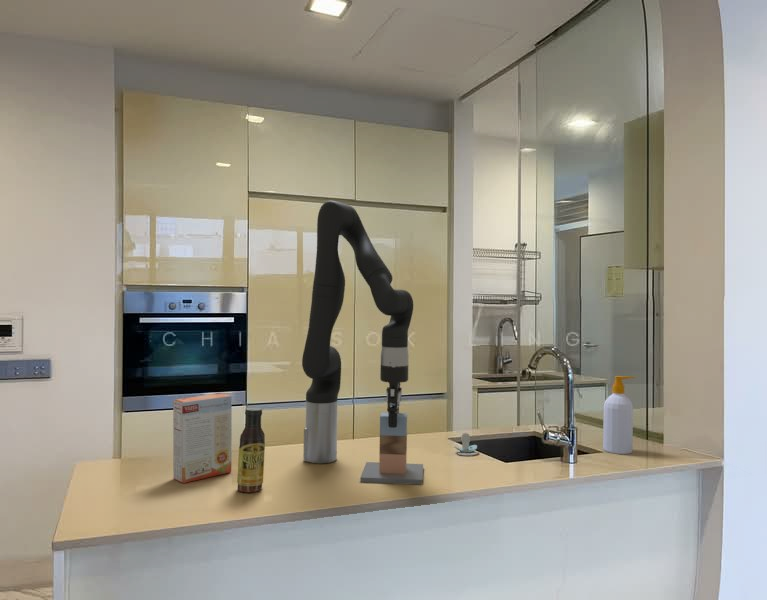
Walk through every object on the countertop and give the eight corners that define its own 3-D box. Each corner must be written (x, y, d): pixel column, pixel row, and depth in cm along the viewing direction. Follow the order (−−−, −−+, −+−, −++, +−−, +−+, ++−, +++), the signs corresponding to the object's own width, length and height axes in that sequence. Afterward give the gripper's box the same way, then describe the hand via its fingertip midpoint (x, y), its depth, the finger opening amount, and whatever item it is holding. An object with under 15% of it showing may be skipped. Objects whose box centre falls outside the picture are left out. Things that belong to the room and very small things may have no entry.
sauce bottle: (240, 495, 134) (241, 412, 134) (234, 487, 140) (235, 407, 140) (267, 491, 137) (268, 410, 137) (260, 484, 143) (261, 405, 143)
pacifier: (481, 456, 172) (473, 450, 178) (482, 436, 172) (474, 431, 178) (458, 457, 170) (452, 451, 176) (459, 437, 170) (452, 432, 176)
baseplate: (360, 482, 145) (360, 458, 145) (366, 466, 159) (366, 444, 159) (422, 484, 144) (422, 460, 144) (423, 468, 158) (423, 446, 158)
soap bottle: (639, 454, 175) (640, 378, 175) (609, 454, 175) (610, 377, 175) (627, 447, 184) (628, 374, 184) (599, 447, 184) (600, 374, 184)
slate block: (379, 435, 149) (380, 416, 149) (381, 430, 154) (381, 412, 154) (406, 436, 149) (406, 417, 149) (407, 431, 154) (407, 413, 154)
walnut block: (379, 453, 149) (379, 435, 150) (381, 448, 154) (381, 430, 154) (405, 454, 149) (406, 435, 149) (406, 449, 154) (407, 431, 154)
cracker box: (221, 468, 156) (222, 392, 156) (232, 473, 151) (233, 395, 152) (171, 478, 146) (172, 398, 146) (181, 484, 142) (183, 401, 142)
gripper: (382, 360, 159) (382, 417, 159) (378, 366, 145) (377, 429, 145) (409, 361, 158) (408, 418, 158) (407, 366, 144) (406, 430, 144)
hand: (393, 423), depth 152 cm, fingers open, 8 cm apart
